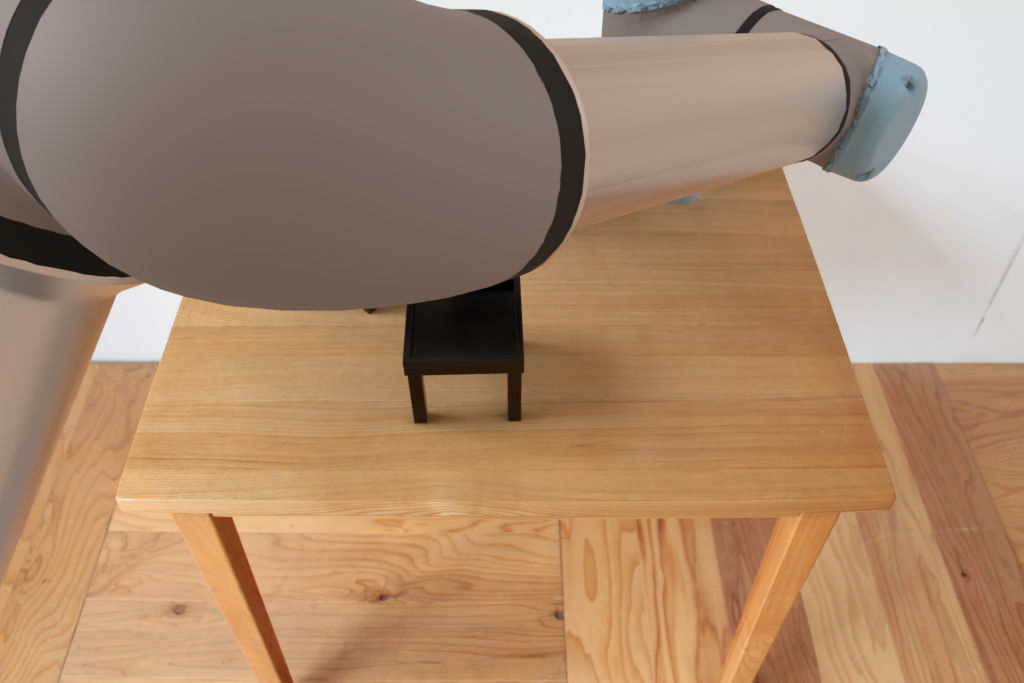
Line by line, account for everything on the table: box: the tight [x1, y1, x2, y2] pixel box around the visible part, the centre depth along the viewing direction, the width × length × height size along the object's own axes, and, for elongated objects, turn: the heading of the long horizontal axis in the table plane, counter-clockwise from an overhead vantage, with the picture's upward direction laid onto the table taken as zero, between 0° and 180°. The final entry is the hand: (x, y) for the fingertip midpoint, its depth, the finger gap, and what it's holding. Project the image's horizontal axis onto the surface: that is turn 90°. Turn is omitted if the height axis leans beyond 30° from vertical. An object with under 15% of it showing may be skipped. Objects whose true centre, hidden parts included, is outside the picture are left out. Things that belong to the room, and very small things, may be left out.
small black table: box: [401, 276, 525, 424], centre depth 76 cm, size 10×10×9 cm
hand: (305, 40), depth 77 cm, fingers closed on blue cup, 7 cm apart
